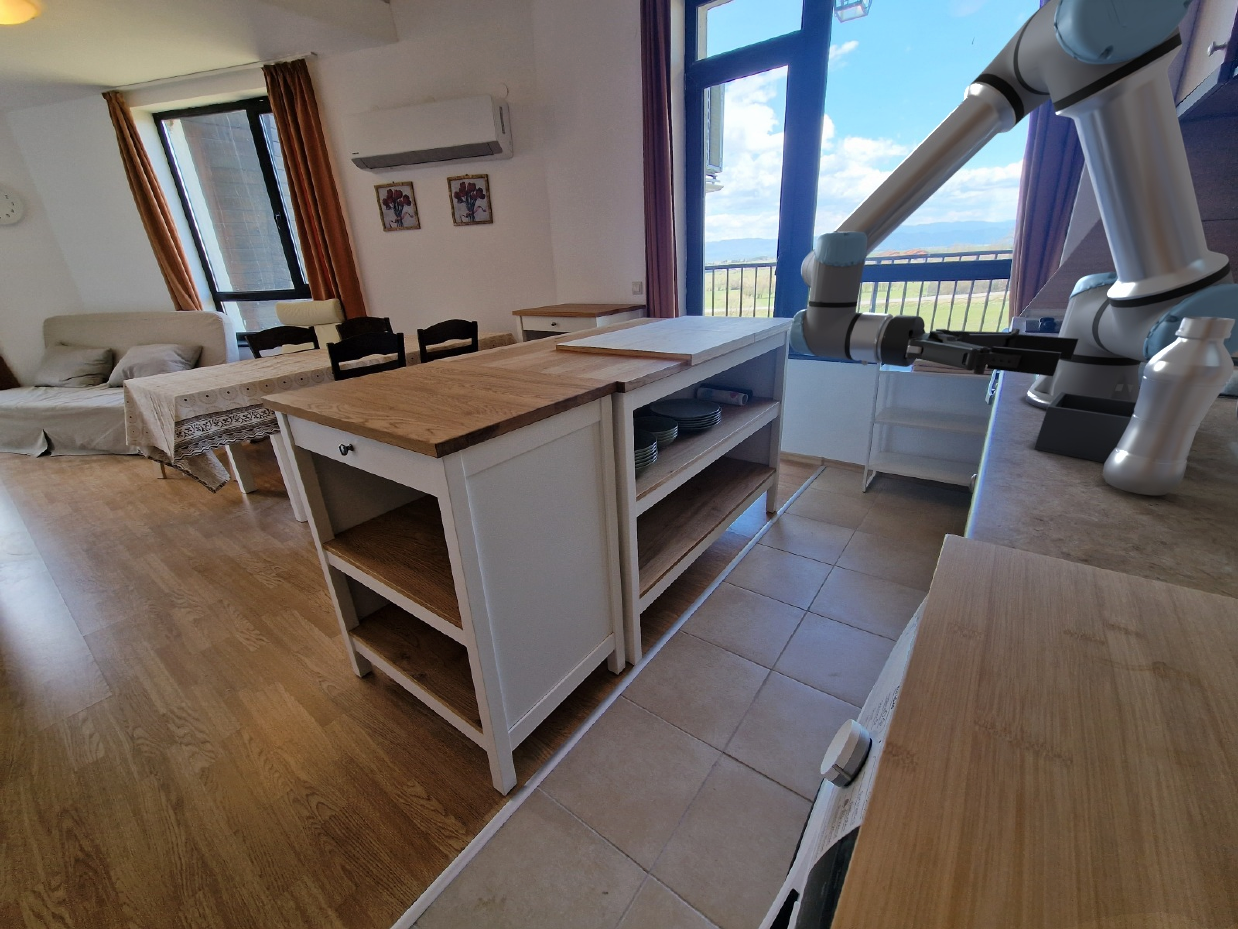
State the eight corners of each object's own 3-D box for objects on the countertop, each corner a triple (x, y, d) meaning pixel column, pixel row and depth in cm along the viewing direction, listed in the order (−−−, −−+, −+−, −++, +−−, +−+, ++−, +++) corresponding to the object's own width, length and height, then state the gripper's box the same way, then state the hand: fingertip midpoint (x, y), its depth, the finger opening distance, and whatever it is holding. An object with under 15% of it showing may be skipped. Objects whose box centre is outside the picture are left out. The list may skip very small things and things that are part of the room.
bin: (1047, 431, 78) (1060, 391, 75) (1143, 447, 70) (1161, 404, 68) (1033, 449, 71) (1047, 406, 69) (1138, 469, 64) (1158, 422, 61)
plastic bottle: (1082, 479, 61) (1145, 316, 53) (1135, 478, 61) (1206, 314, 53) (1132, 503, 55) (1211, 323, 48) (1191, 501, 55) (1280, 321, 48)
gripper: (912, 353, 84) (1071, 370, 70) (849, 376, 69) (1037, 405, 54) (921, 308, 81) (1090, 316, 67) (858, 322, 66) (1059, 337, 52)
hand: (1067, 356), depth 61 cm, fingers open, 13 cm apart
